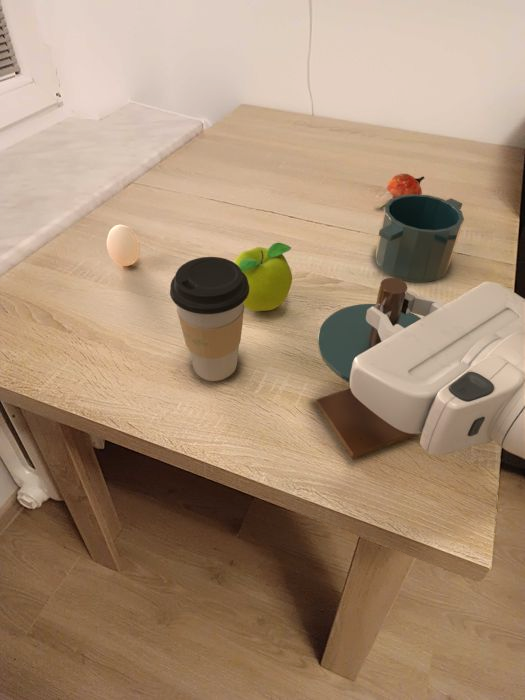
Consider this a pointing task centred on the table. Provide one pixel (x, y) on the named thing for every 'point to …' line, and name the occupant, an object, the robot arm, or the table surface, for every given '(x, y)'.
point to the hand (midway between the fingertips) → (385, 303)
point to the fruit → (265, 276)
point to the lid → (360, 328)
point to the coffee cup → (211, 313)
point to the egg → (123, 245)
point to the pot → (418, 237)
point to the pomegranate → (404, 185)
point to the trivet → (357, 424)
